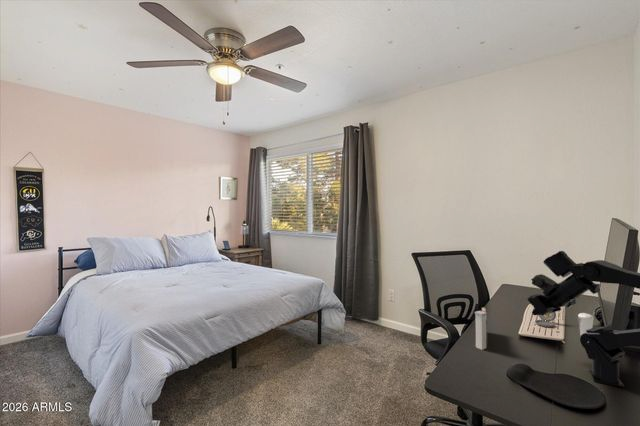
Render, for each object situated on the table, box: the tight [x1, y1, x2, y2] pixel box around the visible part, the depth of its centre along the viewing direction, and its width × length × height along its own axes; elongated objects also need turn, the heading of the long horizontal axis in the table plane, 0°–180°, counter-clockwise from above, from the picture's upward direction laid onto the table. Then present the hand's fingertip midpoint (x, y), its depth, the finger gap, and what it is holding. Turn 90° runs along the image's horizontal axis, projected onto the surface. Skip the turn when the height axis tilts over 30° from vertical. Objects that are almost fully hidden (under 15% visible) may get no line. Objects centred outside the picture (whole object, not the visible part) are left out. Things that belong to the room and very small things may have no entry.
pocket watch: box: [534, 312, 557, 328], centre depth 133 cm, size 8×8×10 cm
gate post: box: [474, 310, 488, 351], centre depth 111 cm, size 3×3×13 cm
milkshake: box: [577, 311, 596, 337], centre depth 119 cm, size 5×5×10 cm
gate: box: [481, 306, 488, 347], centre depth 119 cm, size 16×1×9 cm, turn 154°
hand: (533, 313), depth 107 cm, fingers closed
